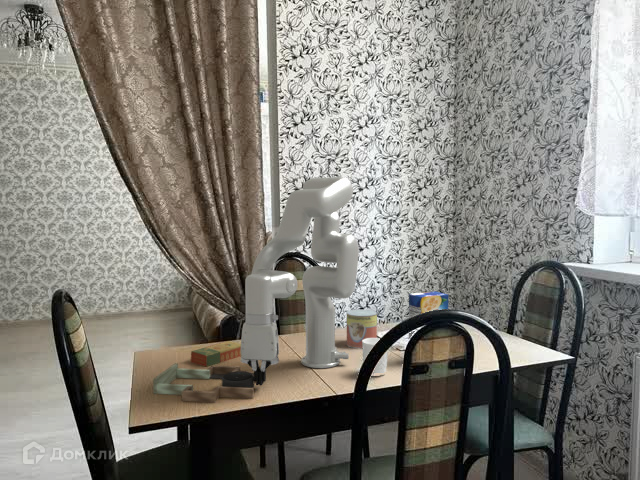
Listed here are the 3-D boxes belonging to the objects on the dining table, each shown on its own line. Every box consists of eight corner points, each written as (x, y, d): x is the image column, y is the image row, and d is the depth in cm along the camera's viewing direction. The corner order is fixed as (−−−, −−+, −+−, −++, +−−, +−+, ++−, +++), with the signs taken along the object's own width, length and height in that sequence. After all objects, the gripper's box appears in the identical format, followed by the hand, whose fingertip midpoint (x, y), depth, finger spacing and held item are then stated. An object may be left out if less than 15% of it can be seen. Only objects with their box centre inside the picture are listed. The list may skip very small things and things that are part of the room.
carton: (244, 356, 173) (243, 344, 172) (206, 368, 160) (206, 355, 160) (227, 351, 178) (227, 340, 177) (190, 363, 165) (190, 350, 165)
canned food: (341, 346, 183) (341, 314, 182) (352, 339, 193) (352, 308, 193) (371, 350, 179) (371, 316, 178) (380, 342, 189) (380, 310, 188)
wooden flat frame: (269, 376, 151) (269, 363, 151) (248, 404, 129) (248, 389, 129) (180, 372, 155) (180, 359, 155) (146, 398, 133) (145, 384, 133)
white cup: (381, 379, 148) (381, 345, 147) (357, 374, 152) (357, 342, 152) (392, 371, 155) (392, 339, 154) (369, 367, 159) (369, 336, 158)
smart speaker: (218, 395, 136) (218, 380, 136) (226, 383, 145) (225, 370, 145) (251, 395, 136) (251, 380, 136) (256, 383, 145) (256, 370, 145)
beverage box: (408, 359, 168) (408, 293, 166) (434, 354, 172) (435, 291, 171) (420, 364, 161) (421, 297, 160) (447, 360, 166) (448, 294, 165)
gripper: (288, 316, 141) (288, 380, 143) (237, 315, 143) (237, 378, 145) (283, 322, 134) (283, 389, 135) (229, 321, 136) (229, 387, 137)
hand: (260, 383), depth 140 cm, fingers closed
